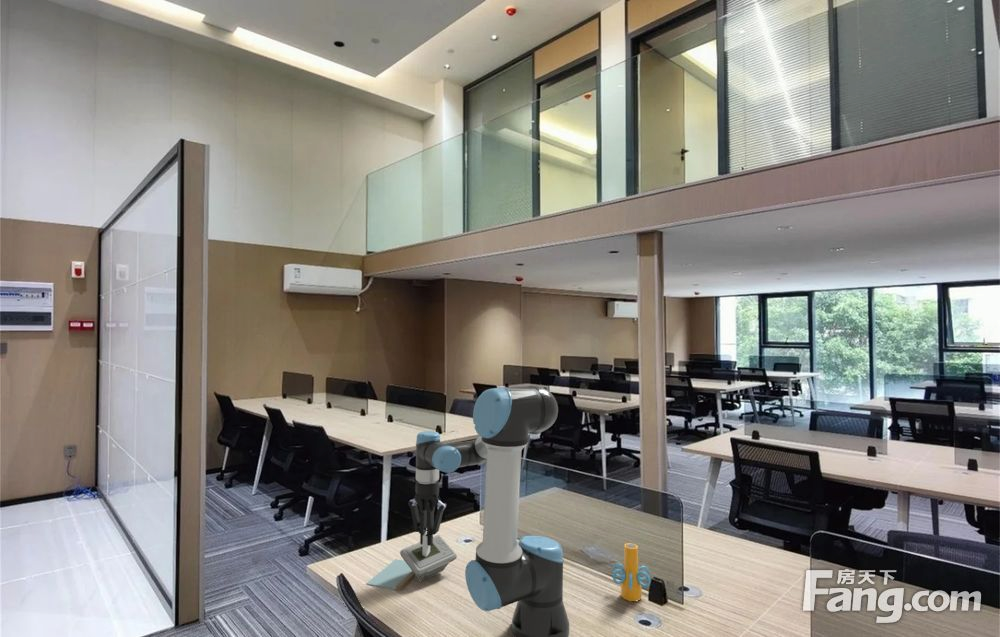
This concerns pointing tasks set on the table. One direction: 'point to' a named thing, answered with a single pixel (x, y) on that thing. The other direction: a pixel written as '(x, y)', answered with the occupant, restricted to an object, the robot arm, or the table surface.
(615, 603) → the table surface
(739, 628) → the table surface
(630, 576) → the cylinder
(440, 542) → the digital clock
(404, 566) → the mat
